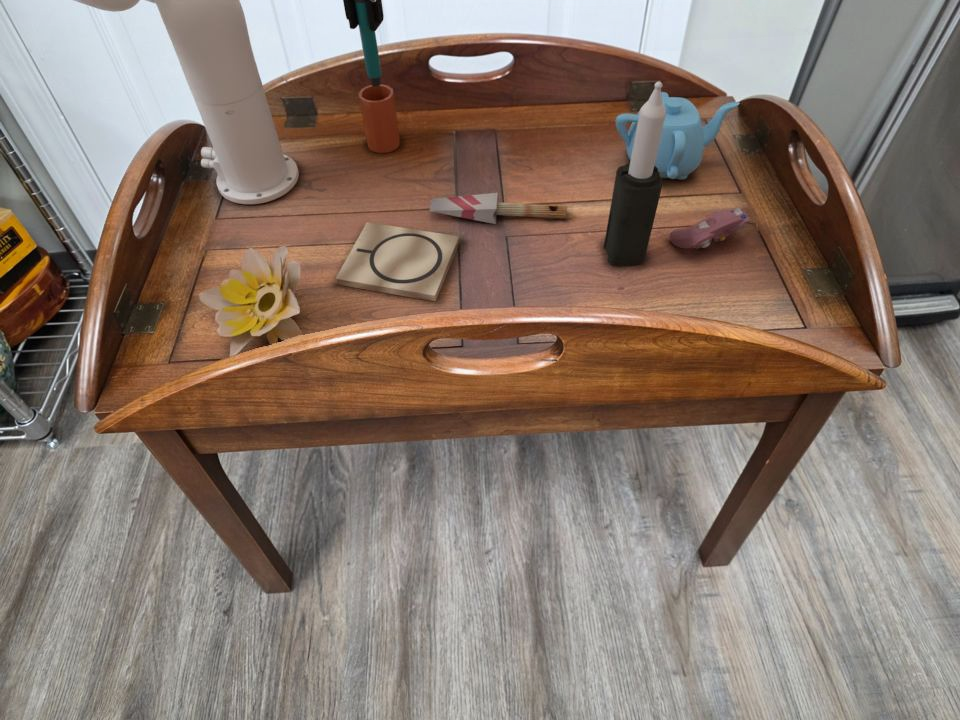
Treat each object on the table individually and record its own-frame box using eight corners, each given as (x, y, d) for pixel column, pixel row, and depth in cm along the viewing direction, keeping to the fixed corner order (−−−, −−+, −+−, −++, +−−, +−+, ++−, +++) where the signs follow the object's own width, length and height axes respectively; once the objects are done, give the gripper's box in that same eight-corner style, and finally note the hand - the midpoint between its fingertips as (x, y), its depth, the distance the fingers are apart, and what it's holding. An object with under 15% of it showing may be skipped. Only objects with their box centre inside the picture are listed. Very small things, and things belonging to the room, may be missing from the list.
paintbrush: (431, 188, 95) (567, 197, 95) (432, 203, 98) (564, 212, 97) (428, 204, 93) (567, 213, 93) (429, 219, 95) (565, 228, 95)
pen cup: (362, 151, 107) (353, 100, 100) (374, 132, 111) (366, 82, 103) (393, 155, 106) (386, 104, 99) (404, 136, 110) (398, 86, 103)
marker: (366, 87, 100) (349, -10, 89) (371, 79, 101) (355, -17, 90) (380, 88, 100) (365, -8, 88) (385, 80, 101) (371, -16, 90)
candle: (602, 242, 92) (630, 71, 72) (637, 239, 92) (675, 68, 73) (609, 267, 89) (641, 95, 69) (646, 264, 89) (688, 92, 69)
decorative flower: (195, 286, 86) (186, 226, 78) (281, 274, 90) (281, 218, 83) (217, 372, 78) (210, 316, 70) (311, 355, 83) (313, 300, 75)
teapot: (603, 166, 104) (611, 103, 95) (659, 128, 109) (672, 64, 100) (667, 203, 98) (682, 139, 89) (723, 160, 103) (742, 96, 94)
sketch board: (337, 284, 88) (335, 277, 87) (368, 228, 95) (366, 221, 94) (435, 301, 85) (435, 294, 84) (459, 242, 93) (459, 235, 92)
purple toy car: (679, 264, 91) (704, 243, 84) (664, 236, 92) (688, 213, 85) (733, 241, 94) (762, 220, 87) (718, 214, 94) (746, 190, 88)
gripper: (414, -135, 80) (427, 19, 94) (294, -142, 83) (324, 9, 97) (394, -116, 75) (411, 43, 90) (268, -123, 78) (304, 32, 93)
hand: (366, 24), depth 93 cm, fingers closed on marker, 2 cm apart
